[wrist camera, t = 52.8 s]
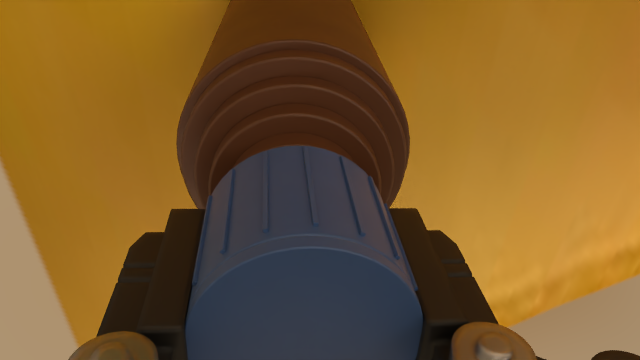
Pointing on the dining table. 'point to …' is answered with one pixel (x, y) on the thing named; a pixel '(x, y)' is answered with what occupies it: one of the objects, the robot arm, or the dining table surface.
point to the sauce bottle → (291, 94)
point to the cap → (301, 265)
